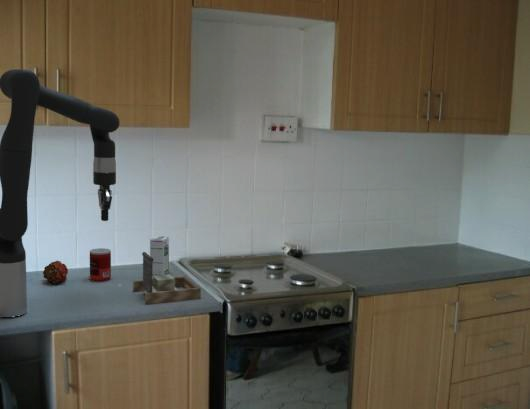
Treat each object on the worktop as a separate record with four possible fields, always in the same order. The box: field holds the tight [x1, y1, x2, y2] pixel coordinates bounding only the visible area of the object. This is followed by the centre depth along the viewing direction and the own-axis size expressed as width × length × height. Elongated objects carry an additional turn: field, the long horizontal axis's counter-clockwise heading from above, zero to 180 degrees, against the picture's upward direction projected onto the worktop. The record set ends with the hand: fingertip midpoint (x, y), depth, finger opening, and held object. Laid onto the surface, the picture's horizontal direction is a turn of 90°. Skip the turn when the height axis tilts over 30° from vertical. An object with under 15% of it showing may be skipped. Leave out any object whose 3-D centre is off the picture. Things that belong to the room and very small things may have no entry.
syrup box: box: [149, 235, 170, 276], centre depth 251 cm, size 6×6×14 cm
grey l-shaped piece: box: [141, 251, 179, 293], centre depth 221 cm, size 11×9×15 cm
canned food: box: [89, 247, 112, 283], centre depth 241 cm, size 8×8×11 cm
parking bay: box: [132, 276, 202, 305], centre depth 223 cm, size 19×16×4 cm
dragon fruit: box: [42, 260, 69, 284], centre depth 236 cm, size 8×8×12 cm
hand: (104, 220), depth 220 cm, fingers closed
